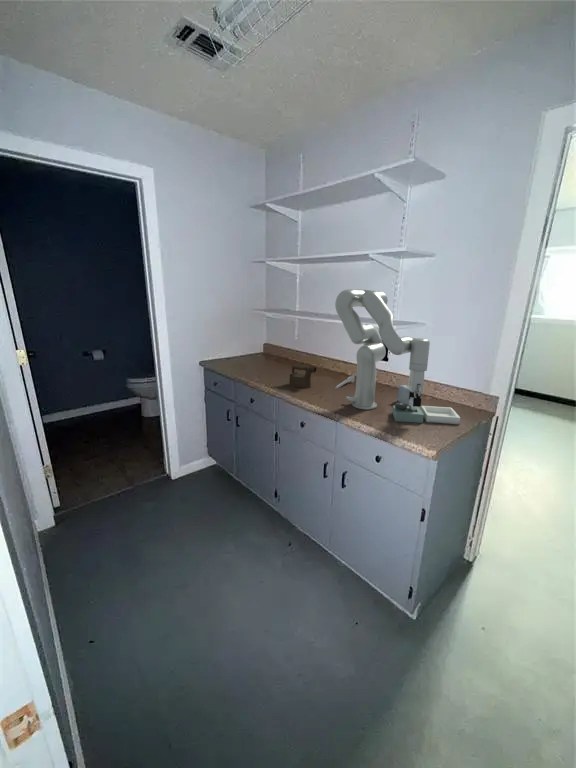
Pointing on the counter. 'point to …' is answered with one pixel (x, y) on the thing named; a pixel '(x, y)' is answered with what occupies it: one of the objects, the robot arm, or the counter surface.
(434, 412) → the tray
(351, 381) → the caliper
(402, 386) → the medicine box
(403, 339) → the robot arm
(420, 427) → the counter surface
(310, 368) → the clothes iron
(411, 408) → the pin
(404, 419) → the green slotted box
